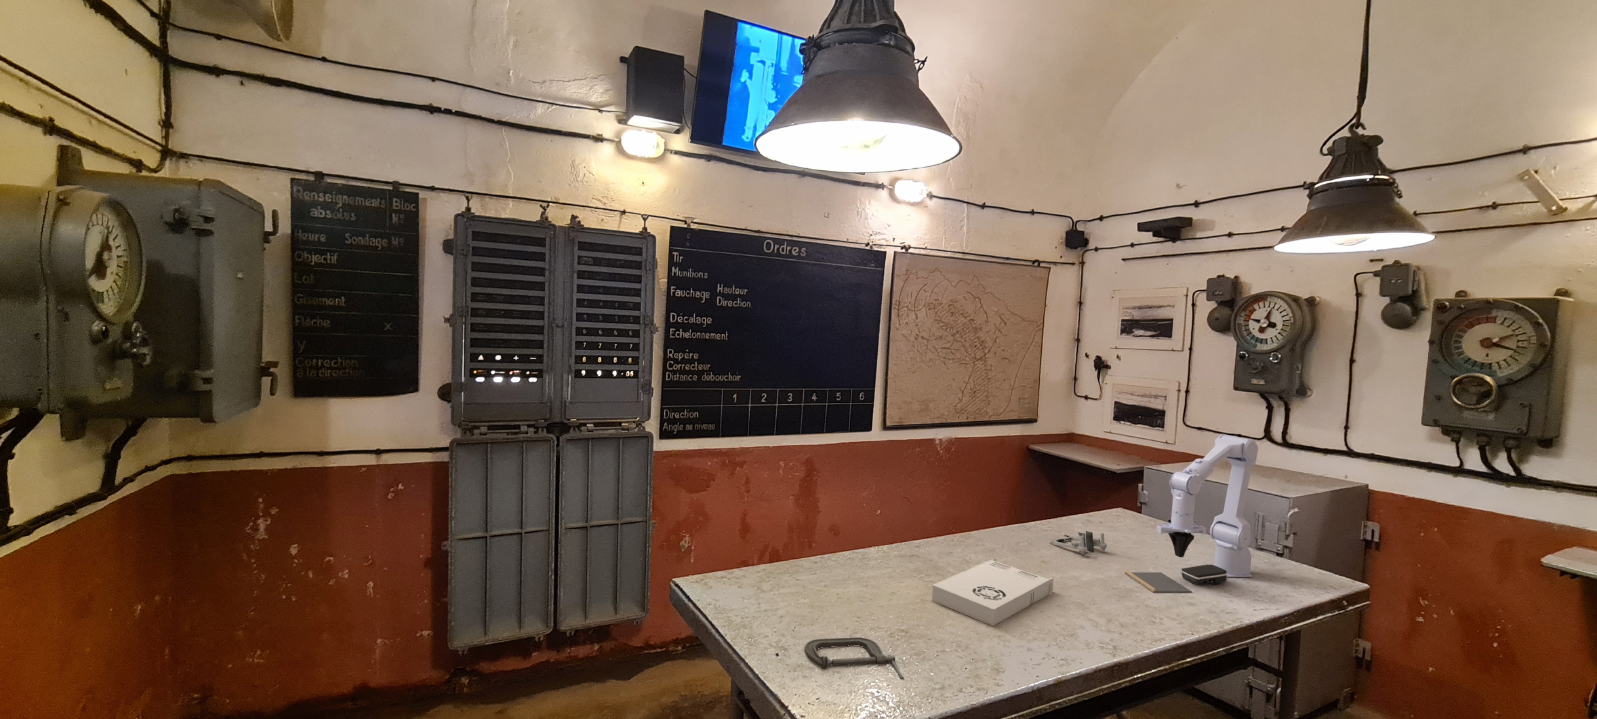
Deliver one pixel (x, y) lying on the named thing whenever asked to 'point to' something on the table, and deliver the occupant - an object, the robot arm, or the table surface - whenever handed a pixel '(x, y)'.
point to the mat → (1157, 582)
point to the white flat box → (991, 591)
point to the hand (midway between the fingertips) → (1179, 556)
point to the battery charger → (1204, 574)
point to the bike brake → (1082, 542)
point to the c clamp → (867, 643)
